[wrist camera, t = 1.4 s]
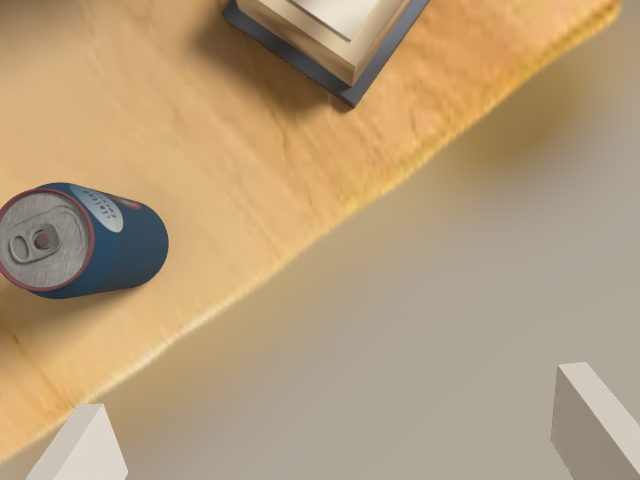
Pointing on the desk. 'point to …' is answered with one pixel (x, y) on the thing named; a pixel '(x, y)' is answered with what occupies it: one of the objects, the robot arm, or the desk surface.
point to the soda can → (79, 241)
